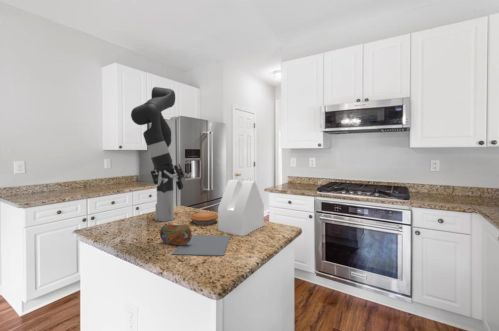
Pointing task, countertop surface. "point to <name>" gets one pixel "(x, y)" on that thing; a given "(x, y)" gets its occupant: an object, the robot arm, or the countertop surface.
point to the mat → (204, 246)
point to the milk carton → (240, 208)
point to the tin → (175, 234)
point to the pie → (204, 218)
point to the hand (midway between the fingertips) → (172, 190)
